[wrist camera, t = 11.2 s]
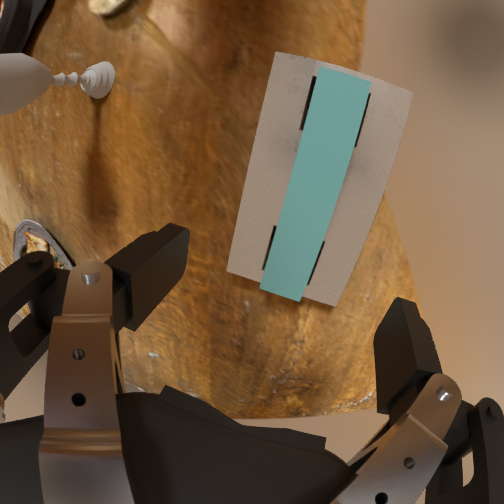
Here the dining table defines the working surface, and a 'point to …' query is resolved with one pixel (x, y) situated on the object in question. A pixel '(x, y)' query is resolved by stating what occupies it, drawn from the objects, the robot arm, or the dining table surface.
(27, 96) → the chalice
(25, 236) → the food plate
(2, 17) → the casserole
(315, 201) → the strip bar
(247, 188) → the plate
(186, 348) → the dining table surface
